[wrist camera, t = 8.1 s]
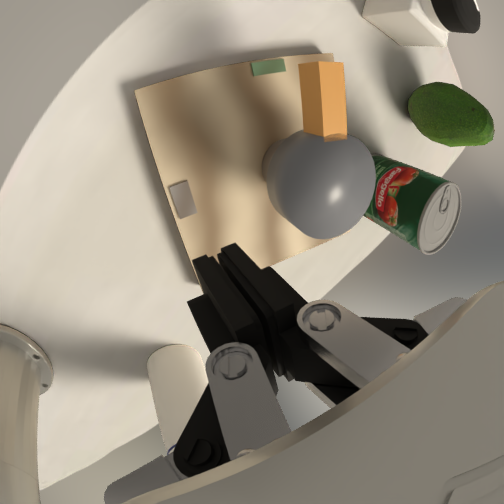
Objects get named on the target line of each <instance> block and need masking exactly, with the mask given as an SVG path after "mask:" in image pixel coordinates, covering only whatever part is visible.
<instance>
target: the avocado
mask: <svg viewBox="0 0 504 504" xmlns="http://www.w3.org/2000/svg"><path fill="white" fill-rule="evenodd" d="M408 111H409V114H410V117H411V120H412V122H413V123H414V124H415V126H416V127H417V129H418V130H419V131H420V132H421V133H422V134H423V135H424V136H426V137H427V138H429V139H430V140H432V141H435V142H438V143H441V144H444V145H446V146H449V147H455V146H477V145H485V144H487V143H488V142H490V141H492V140H493V135H494V131H495V130H494V124H493V119H492V117H491V115H490V113H489V111H488V110H487V109H486V108H485V107H484V106H483V105H482V104H481V103H480V102H478V101H477V100H476V99H475V98H474V97H472V96H471V95H470V94H468V93H467V92H465V91H463V90H462V89H460V88H459V87H457V86H455V85H453V84H448V83H443V82H434V83H429V84H425V85H423V86H421V87H419V88H418V89H416V90H415V91H414V92H413V94H412V95H411V97H410V98H409V100H408Z"/></svg>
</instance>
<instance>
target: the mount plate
mask: <svg viewBox="0 0 504 504" xmlns="http://www.w3.org/2000/svg"><path fill="white" fill-rule="evenodd" d="M317 61H323V62H334V58H333V53H325V54H308V55H296V56H285V57H276V58H269V59H261V60H255V61H248V62H242V63H237V64H231V65H226V66H221V67H216V68H212V69H207V70H203V71H199V72H195V73H191V74H187V75H183V76H179V77H176V78H172V79H169V80H165V81H162V82H159V83H156V84H152V85H149V86H146V87H143V88H140V89H137V90H134V92H135V96H136V100H137V103H138V107H139V110H140V114H141V117H142V121H143V124H144V127H145V131H146V134H147V137H148V140H149V144H150V147H151V150H152V153H153V156H154V159H155V163H156V166H157V169H158V172H159V175H160V178H161V181H162V184H163V187H164V190H165V193H166V196H167V198H168V201H169V204H170V207H171V210H172V213H173V216H174V218H175V221H176V224H177V227H178V229H179V232H180V235H181V238H182V240H183V243H184V246H185V248H186V251H187V254H188V256H189V259H190V261H191V264H192V267H193V269H194V266H193V263H192V260H193V259H196V258H198V257H200V256H203V255H205V254H206V255H207V256H208V257H211V256H214V258H215V259H216V260H217V262H218V263H219V261H218V258H217V254H218V253H221V248H222V247H225V246H227V245H230V244H232V243H236V244H237V245H238V246H239V247H240V248H241V249H242V250H243V251H244V252H245V253H246V254H247V255H248V256H249V257H250V258H251V259H252V260H253V261H254V262H255V263H256V265H257V266H258V267H259V268H260V269H263V268H265V267H268V266H271V265H274V264H276V263H278V262H281V261H283V260H285V259H288V258H290V257H292V256H295V255H297V254H299V253H302V252H304V251H306V250H309V249H311V248H313V247H316V246H318V245H320V244H323V243H325V242H327V241H329V240H332V239H334V238H331V239H315V238H312V237H309V236H307V235H305V234H304V233H303V232H301V231H300V230H299V229H298V228H296V227H295V226H294V225H293V224H291V223H290V222H289V221H288V220H286V219H285V218H284V217H283V216H281V215H280V214H279V213H278V212H277V211H276V210H275V208H274V207H273V205H272V203H271V201H270V199H269V196H268V191H267V172H268V167H269V164H270V161H271V159H272V157H273V155H274V153H275V151H276V150H277V148H278V147H279V146H280V144H281V143H282V142H283V141H284V140H285V139H286V138H288V137H289V136H290V135H292V134H293V133H295V132H297V131H300V130H302V129H303V115H302V102H301V90H300V79H299V68H298V64H301V63H309V62H317ZM348 232H350V230H348V231H347V232H345V233H348ZM345 233H344V234H345ZM342 235H343V234H342ZM340 236H341V235H340ZM337 237H339V236H337ZM335 238H336V237H335ZM194 272H195V274H196V271H195V269H194ZM196 277H197V274H196ZM197 279H198V277H197ZM198 282H199V280H198ZM199 284H200V282H199ZM200 287H201V285H200ZM201 289H202V288H201ZM202 291H203V290H202ZM203 294H204V293H203Z"/></svg>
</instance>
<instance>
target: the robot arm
mask: <svg viewBox="0 0 504 504" xmlns="http://www.w3.org/2000/svg"><path fill="white" fill-rule="evenodd" d="M217 258H218V261H219V263H218V262H217V260H216V259H215V258H214V256H211V257H208V256H207V255H206V254H205V255H203V256H200V257H198V258H196V259H193V260H192V263H193V266H194V269H195V271H196V274H197V277H198V280H199V282H200V285H201V288H202V290H203V293H204V294H203V295H201V296H199V297H196V298H194V299H192V300H189V301H187V303H188V306H189V308H190V310H191V312H192V315H193V317H194V319H195V321H196V324H197V326H198V328H199V330H200V332H201V334H202V337H203V339H204V341H205V343H206V345H207V347H208V349H209V351H210V353H211V354H210V355H209V357H208V359H207V361H206V374H207V378H208V382H209V383H208V384H207V386H206V388H205V390H204V392H203V394H202V396H201V398H200V400H199V402H198V404H197V406H196V408H195V409H194V411H193V413H192V415H191V417H190V419H189V421H188V423H187V425H186V426H185V428H184V430H183V432H182V434H181V436H180V438H179V440H178V441H177V443H176V445H175V448H174V451H173V452H172V453H170V454H168V455H167V456H165V457H164V456H163V455H161V456H159V457H158V458H156V459H154V460H153V461H151V462H149V463H147V464H146V465H144V466H142V467H140V468H139V469H137V470H135V471H133V472H131V473H130V474H128V475H126V476H124V477H122V478H120V479H119V480H117V481H115V482H113V483H112V484H110V485H109V486H108V487H107V489H106V491H105V494H104V501H105V504H504V281H501V282H498V283H495V284H492V285H490V286H488V287H486V288H484V289H482V290H480V291H479V292H477V293H476V294H474V295H473V296H472V297H470V298H469V299H468V300H466V299H463V298H458V297H455V298H451V299H449V300H447V301H445V302H443V303H441V304H439V305H437V306H435V307H433V308H431V309H429V310H427V311H425V312H423V313H421V314H419V315H416V316H414V319H413V320H407V319H390V318H370V317H359V316H357V315H356V314H354V313H352V312H351V311H349V310H348V309H346V308H345V307H343V306H342V305H340V304H338V303H336V302H334V301H330V300H316V301H312V302H310V303H308V302H306V301H305V300H304V299H303V298H302V297H301V296H300V295H299V294H298V293H297V292H296V291H295V290H294V289H293V288H292V287H291V286H290V285H289V284H288V283H287V282H286V281H285V280H284V279H283V278H282V277H281V276H280V275H279V274H278V273H277V272H276V271H275V270H274V269H273V268H271V267H270V266H268V267H265V268H263V269H260V268H259V267H258V266H257V265H256V263H255V262H254V261H253V260H252V259H251V258H250V257H249V256H248V255H247V254H246V253H245V252H244V251H243V250H242V249H241V248H240V247H239V246H238V245H237V244H236V243H232V244H230V245H227V246H225V247H222V248H221V253H218V254H217ZM273 370H274V371H275V372H276V374H277V375H278V376H279V377H280V376H282V375H284V376H285V377H286V379H287V380H288V381H291V380H293V379H295V380H296V381H301V382H305V385H306V386H307V387H308V388H309V389H310V390H311V391H312V392H313V393H314V394H315V395H317V396H318V397H319V398H320V399H321V400H322V401H323V402H324V403H325V404H327V405H328V406H329V407H330V408H331V409H330V410H328V411H327V412H325V413H323V414H322V415H320V416H318V417H317V418H315V419H313V420H312V421H310V422H308V423H306V424H305V425H303V426H301V427H299V428H298V429H296V430H294V431H291V429H290V427H289V425H288V423H287V420H286V419H285V416H284V414H283V412H282V409H281V407H280V405H279V403H278V400H277V398H276V395H277V392H278V387H277V383H276V379H275V375H274V371H273ZM52 380H53V369H52V366H51V363H50V361H49V359H48V357H47V356H46V354H45V353H44V352H43V350H42V349H41V348H40V347H39V346H38V345H37V344H36V343H35V342H34V341H32V340H31V339H30V338H28V337H27V336H25V335H24V334H22V333H20V332H19V331H17V330H14V329H12V328H10V327H7V326H3V325H0V504H41V502H40V493H39V482H38V464H37V425H38V407H39V395H41V394H43V393H45V392H46V391H47V390H48V389H49V388H50V387H51V384H52Z"/></svg>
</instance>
